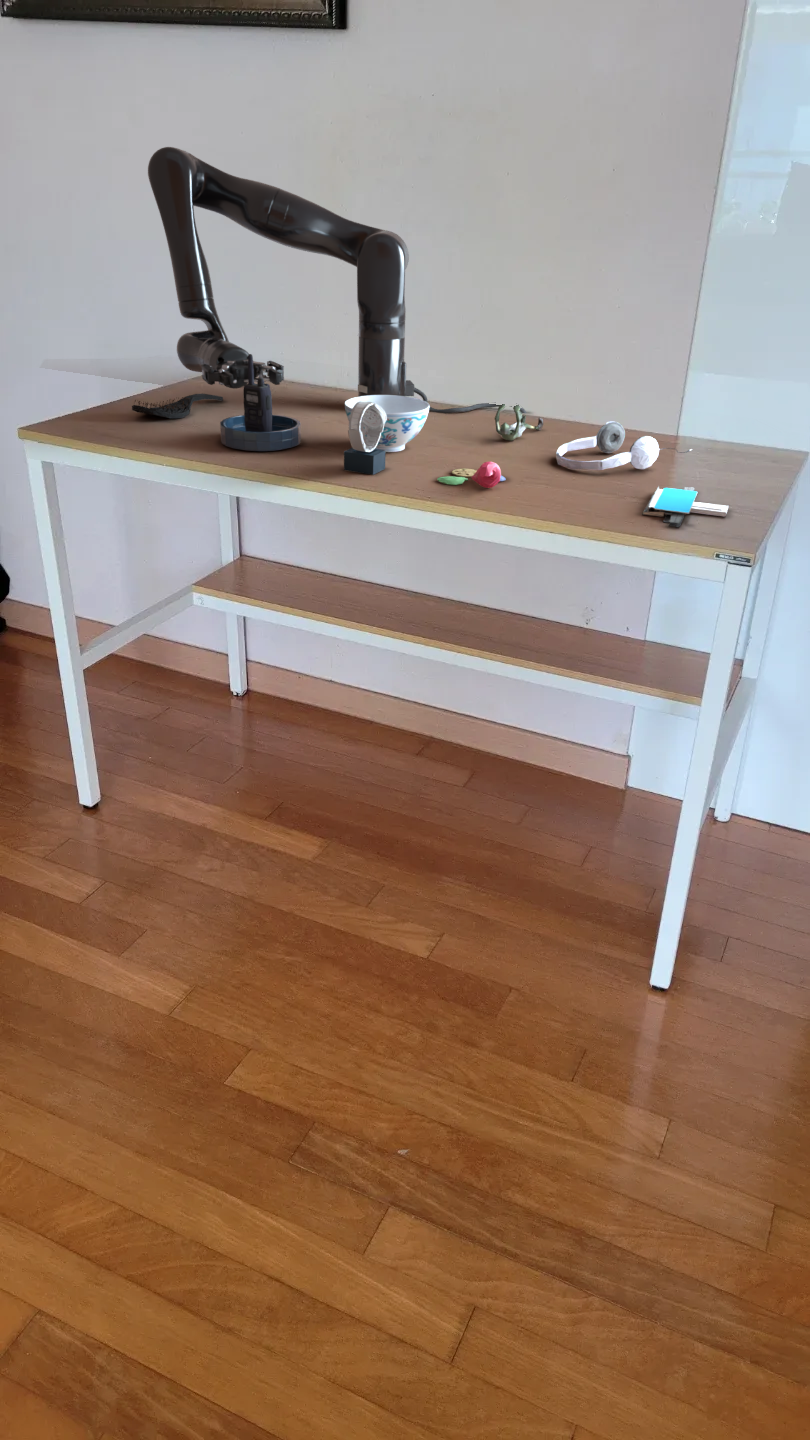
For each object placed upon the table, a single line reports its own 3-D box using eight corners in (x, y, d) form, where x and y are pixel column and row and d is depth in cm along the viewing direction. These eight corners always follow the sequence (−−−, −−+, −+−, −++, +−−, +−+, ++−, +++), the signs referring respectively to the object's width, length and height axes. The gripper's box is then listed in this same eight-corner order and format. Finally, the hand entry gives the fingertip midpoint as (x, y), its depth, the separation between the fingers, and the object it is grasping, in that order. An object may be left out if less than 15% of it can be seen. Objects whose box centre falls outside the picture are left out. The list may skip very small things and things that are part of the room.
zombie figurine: (546, 394, 204) (515, 410, 193) (543, 430, 208) (511, 447, 196) (521, 390, 206) (488, 405, 195) (517, 426, 210) (485, 442, 198)
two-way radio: (241, 440, 192) (237, 353, 185) (257, 436, 196) (254, 350, 189) (264, 445, 190) (262, 357, 183) (280, 441, 193) (278, 354, 186)
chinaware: (373, 433, 201) (373, 391, 198) (442, 445, 195) (444, 402, 191) (327, 449, 190) (327, 405, 186) (400, 463, 183) (401, 417, 180)
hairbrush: (236, 388, 219) (154, 403, 200) (237, 407, 221) (155, 423, 201) (205, 384, 223) (120, 398, 203) (205, 402, 225) (122, 417, 205)
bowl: (296, 432, 200) (296, 413, 199) (304, 452, 188) (304, 432, 186) (220, 433, 198) (219, 414, 196) (222, 453, 185) (221, 433, 184)
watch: (390, 466, 181) (391, 399, 176) (368, 477, 175) (369, 408, 170) (361, 461, 183) (361, 395, 178) (338, 472, 177) (338, 404, 172)
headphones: (639, 441, 197) (542, 466, 192) (639, 410, 194) (540, 435, 189) (694, 466, 182) (590, 493, 178) (694, 433, 179) (588, 460, 175)
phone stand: (720, 533, 155) (722, 522, 154) (637, 522, 158) (639, 511, 157) (731, 496, 171) (733, 486, 171) (656, 487, 175) (658, 477, 174)
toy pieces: (524, 482, 175) (526, 455, 173) (478, 495, 168) (480, 467, 166) (470, 467, 182) (472, 441, 180) (424, 478, 175) (425, 451, 173)
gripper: (189, 344, 198) (214, 360, 185) (263, 341, 203) (292, 356, 190) (192, 386, 201) (217, 404, 189) (264, 382, 207) (293, 399, 194)
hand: (255, 380), depth 190 cm, fingers open, 8 cm apart
